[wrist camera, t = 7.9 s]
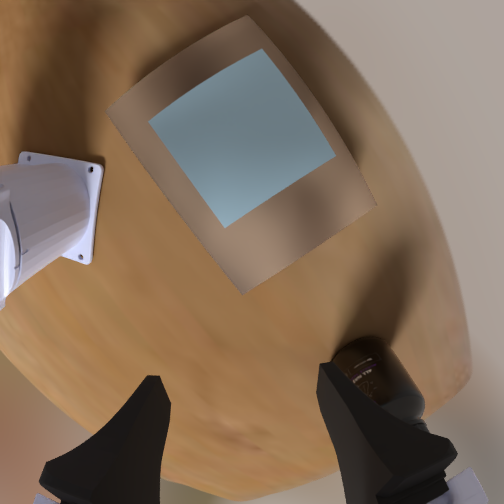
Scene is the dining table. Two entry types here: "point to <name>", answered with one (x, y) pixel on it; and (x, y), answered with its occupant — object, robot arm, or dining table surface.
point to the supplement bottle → (383, 379)
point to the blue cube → (242, 136)
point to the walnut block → (272, 210)
